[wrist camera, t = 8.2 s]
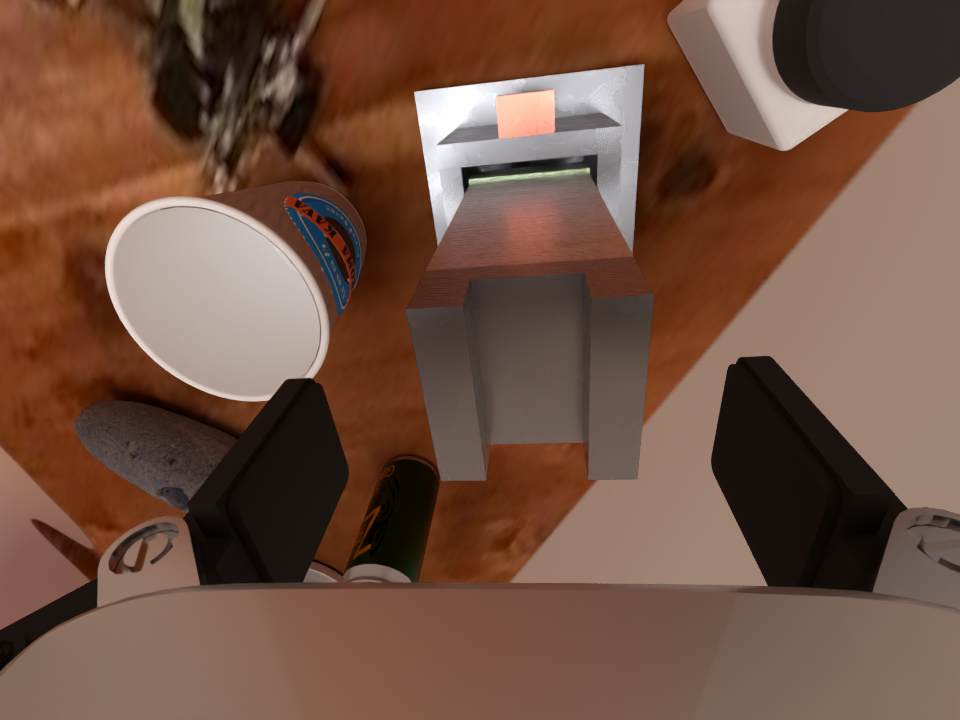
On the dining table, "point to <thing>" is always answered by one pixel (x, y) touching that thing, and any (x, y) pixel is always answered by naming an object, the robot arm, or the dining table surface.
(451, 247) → the jack column
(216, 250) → the coffee cup
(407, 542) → the beer can
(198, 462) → the perforated stone tool
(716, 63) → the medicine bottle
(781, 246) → the dining table surface
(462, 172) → the base
